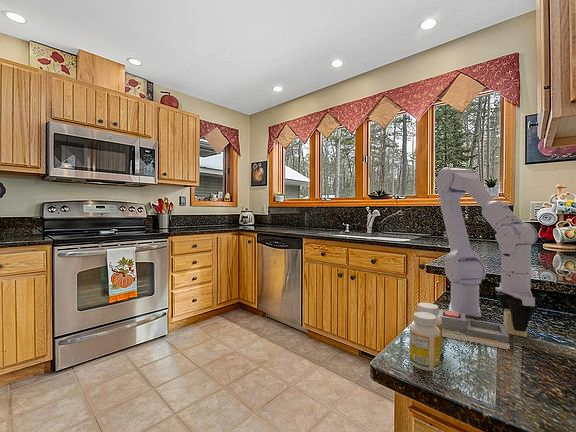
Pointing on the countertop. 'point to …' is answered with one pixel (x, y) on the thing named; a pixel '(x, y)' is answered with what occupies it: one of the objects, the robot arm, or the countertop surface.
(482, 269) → the robot arm
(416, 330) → the supplement bottle
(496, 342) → the panel
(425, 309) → the supplement bottle
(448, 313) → the plunger
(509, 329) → the tan block
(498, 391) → the countertop surface
